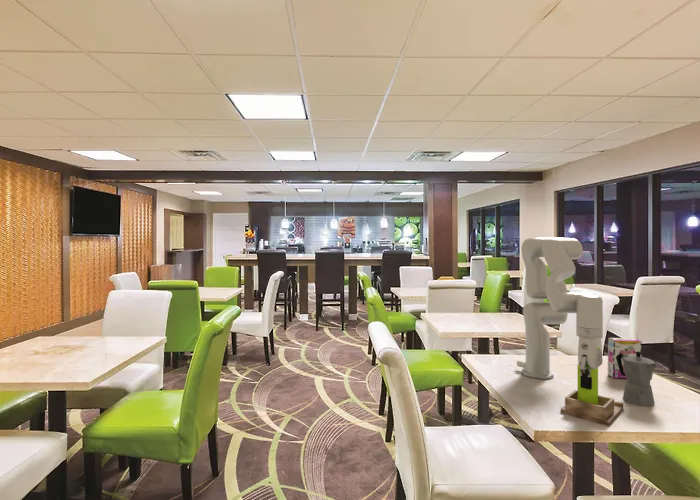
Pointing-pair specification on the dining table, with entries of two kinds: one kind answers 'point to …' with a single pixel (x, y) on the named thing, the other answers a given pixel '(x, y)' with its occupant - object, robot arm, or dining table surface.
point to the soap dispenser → (587, 394)
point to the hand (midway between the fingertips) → (589, 385)
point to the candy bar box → (620, 346)
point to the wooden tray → (592, 409)
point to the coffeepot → (637, 378)
